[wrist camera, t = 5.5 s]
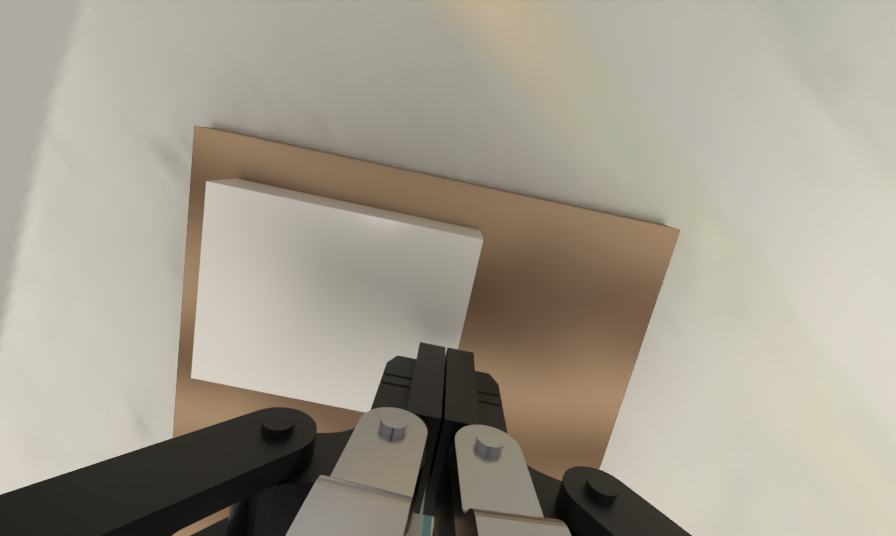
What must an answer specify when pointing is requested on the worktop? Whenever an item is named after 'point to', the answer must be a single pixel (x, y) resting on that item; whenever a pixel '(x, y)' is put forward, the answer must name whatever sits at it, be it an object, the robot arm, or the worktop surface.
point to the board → (491, 301)
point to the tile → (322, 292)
